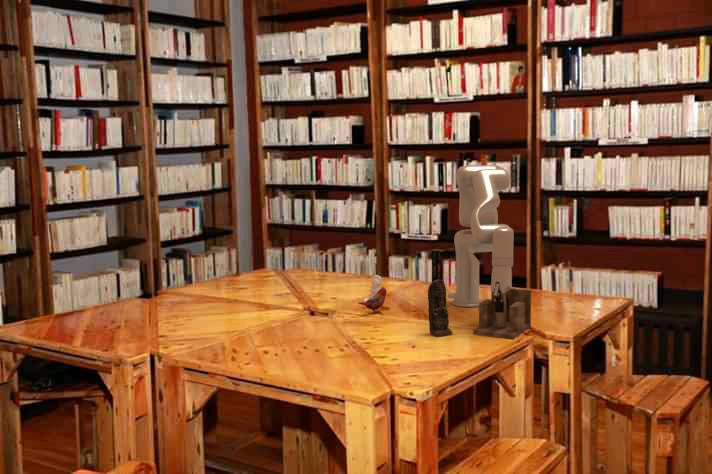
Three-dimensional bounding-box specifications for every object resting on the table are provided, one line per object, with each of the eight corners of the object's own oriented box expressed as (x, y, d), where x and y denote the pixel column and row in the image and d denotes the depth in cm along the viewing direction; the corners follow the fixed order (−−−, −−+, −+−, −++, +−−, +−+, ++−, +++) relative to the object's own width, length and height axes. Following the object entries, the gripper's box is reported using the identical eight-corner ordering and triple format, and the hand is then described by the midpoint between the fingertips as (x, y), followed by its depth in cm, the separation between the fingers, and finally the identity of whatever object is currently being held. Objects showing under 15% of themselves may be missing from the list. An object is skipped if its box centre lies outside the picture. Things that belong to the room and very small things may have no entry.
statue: (437, 337, 287) (437, 282, 285) (426, 332, 294) (426, 278, 291) (453, 334, 291) (453, 280, 288) (442, 330, 297) (442, 277, 294)
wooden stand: (473, 334, 291) (473, 296, 289) (492, 322, 308) (492, 286, 306) (513, 339, 284) (514, 300, 282) (530, 326, 301) (531, 289, 299)
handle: (508, 329, 292) (508, 288, 290) (490, 327, 294) (490, 287, 293) (511, 326, 296) (511, 285, 294) (494, 324, 299) (494, 284, 297)
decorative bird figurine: (389, 310, 329) (389, 286, 328) (360, 318, 316) (360, 293, 315) (384, 309, 331) (384, 285, 330) (355, 317, 318) (354, 292, 317)
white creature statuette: (361, 304, 342) (360, 276, 340) (368, 300, 350) (368, 272, 348) (382, 305, 339) (382, 277, 337) (389, 301, 346) (389, 274, 345)
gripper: (500, 257, 301) (499, 305, 303) (484, 264, 286) (483, 314, 289) (520, 258, 297) (519, 307, 300) (504, 265, 283) (503, 316, 285)
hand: (501, 310), depth 294 cm, fingers open, 4 cm apart
